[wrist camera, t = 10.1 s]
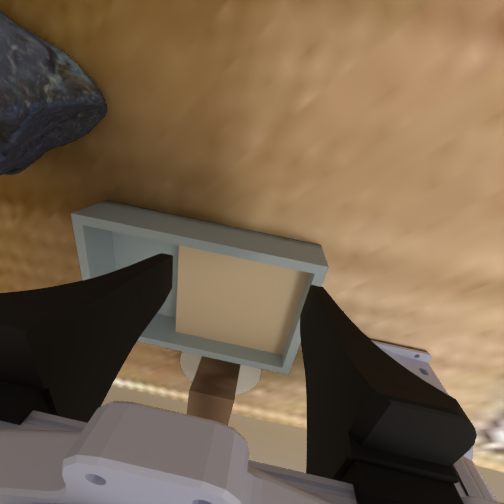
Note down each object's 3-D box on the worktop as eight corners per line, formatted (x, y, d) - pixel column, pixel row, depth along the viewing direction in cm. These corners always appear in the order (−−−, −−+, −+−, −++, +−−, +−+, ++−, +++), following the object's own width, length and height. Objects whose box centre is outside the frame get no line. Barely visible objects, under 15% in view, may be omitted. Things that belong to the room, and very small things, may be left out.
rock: (101, 202, 22) (146, 112, 17) (-25, 217, 15) (-22, 74, 10) (12, 73, 23) (26, -54, 17) (-145, 34, 16) (-204, -194, 11)
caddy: (320, 245, 21) (328, 267, 18) (287, 343, 27) (288, 374, 23) (105, 200, 22) (70, 213, 18) (116, 305, 28) (91, 331, 24)
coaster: (268, 344, 27) (268, 348, 27) (253, 397, 32) (252, 402, 31) (183, 325, 28) (181, 329, 27) (180, 381, 32) (178, 385, 32)
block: (241, 358, 28) (234, 400, 24) (235, 382, 30) (227, 425, 26) (204, 349, 28) (189, 390, 24) (200, 374, 30) (186, 416, 26)
